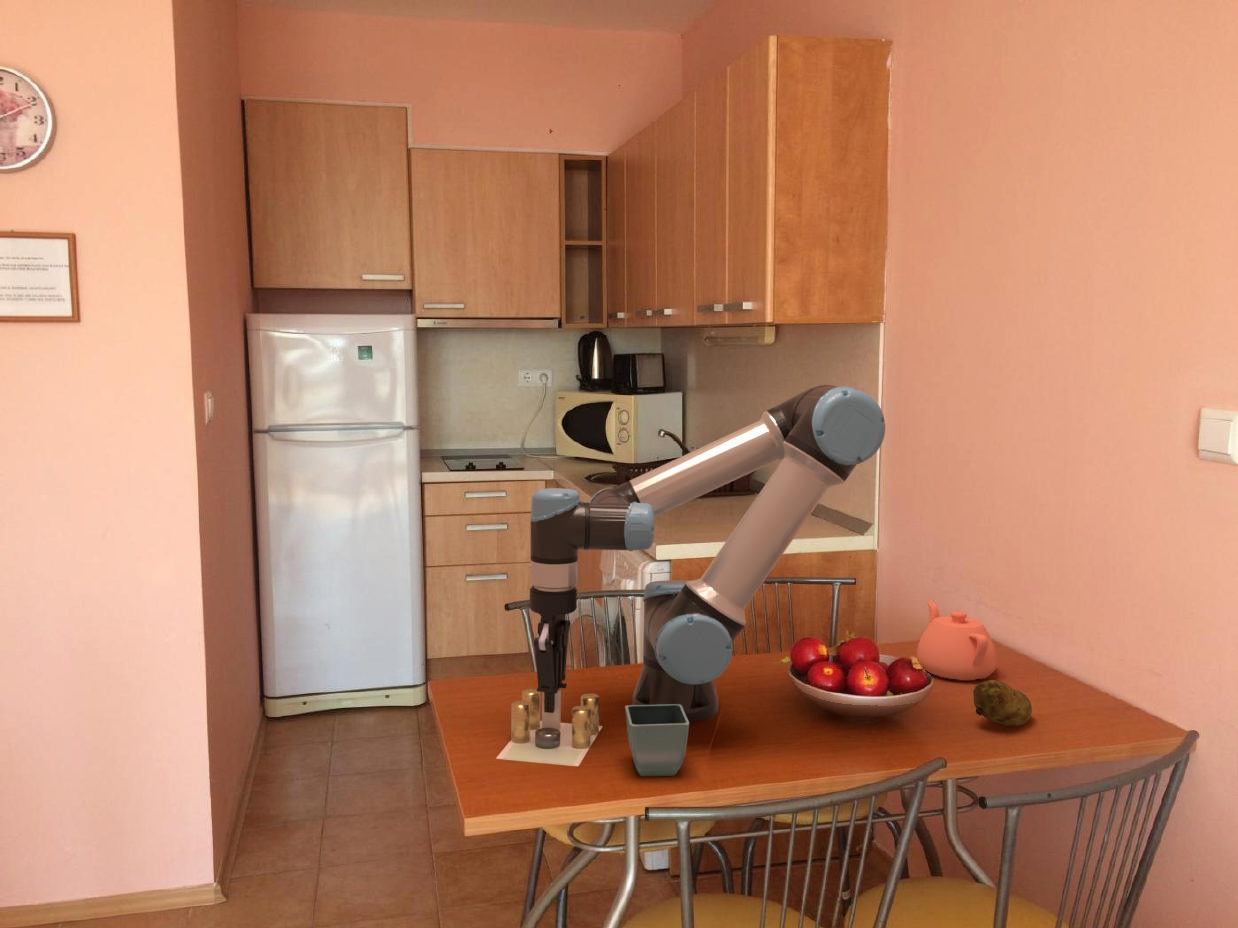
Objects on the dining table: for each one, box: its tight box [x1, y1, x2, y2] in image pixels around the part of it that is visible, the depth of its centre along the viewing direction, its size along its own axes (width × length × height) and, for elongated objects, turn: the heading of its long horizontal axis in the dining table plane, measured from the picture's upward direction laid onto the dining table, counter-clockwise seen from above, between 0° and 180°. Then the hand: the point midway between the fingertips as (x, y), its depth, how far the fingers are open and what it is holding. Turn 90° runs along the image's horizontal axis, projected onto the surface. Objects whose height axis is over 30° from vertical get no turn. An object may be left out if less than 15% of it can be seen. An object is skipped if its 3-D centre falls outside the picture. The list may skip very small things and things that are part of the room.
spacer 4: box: [571, 705, 592, 749], centre depth 163 cm, size 3×3×6 cm
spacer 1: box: [510, 700, 530, 744], centre depth 165 cm, size 3×3×6 cm
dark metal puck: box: [535, 728, 561, 749], centre depth 164 cm, size 4×4×2 cm
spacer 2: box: [521, 688, 541, 730], centre depth 171 cm, size 3×3×6 cm
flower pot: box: [624, 704, 690, 777], centre depth 155 cm, size 9×9×9 cm
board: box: [495, 720, 603, 767], centre depth 165 cm, size 13×17×1 cm
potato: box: [972, 679, 1033, 727], centre depth 176 cm, size 8×13×8 cm, turn 109°
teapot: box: [916, 599, 998, 681], centre depth 205 cm, size 22×15×12 cm
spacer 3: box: [580, 693, 600, 735], centre depth 169 cm, size 3×3×6 cm
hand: (551, 728), depth 166 cm, fingers closed
